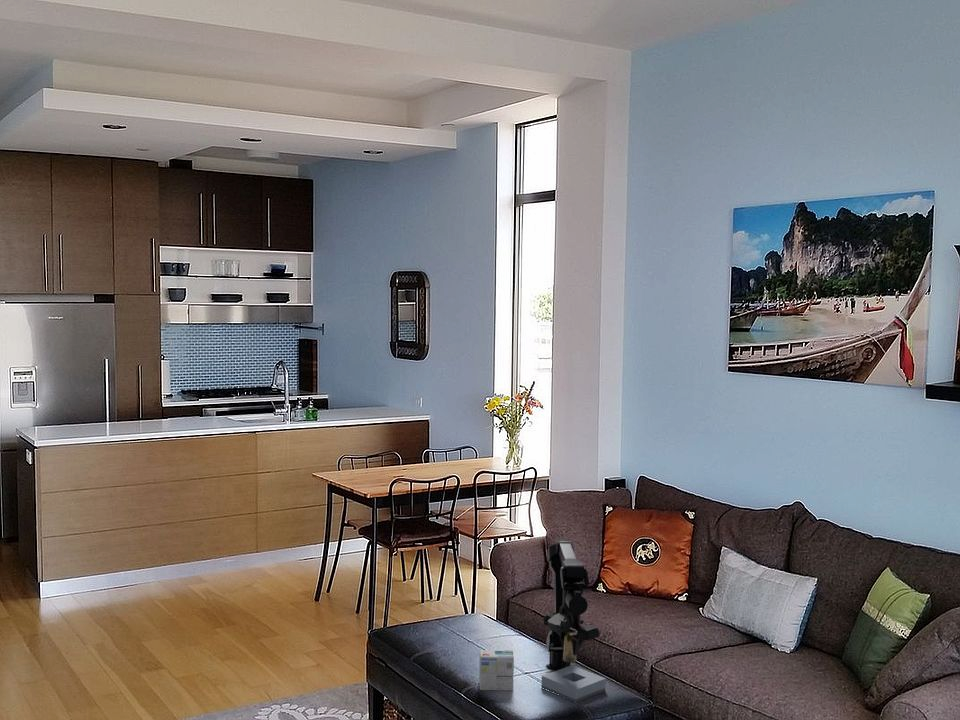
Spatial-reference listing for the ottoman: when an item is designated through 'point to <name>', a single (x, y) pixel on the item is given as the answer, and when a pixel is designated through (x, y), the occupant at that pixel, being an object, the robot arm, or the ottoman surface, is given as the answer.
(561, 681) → the bore block
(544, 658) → the ottoman surface
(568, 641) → the peg
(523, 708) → the ottoman surface
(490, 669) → the light bulb box
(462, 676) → the ottoman surface
